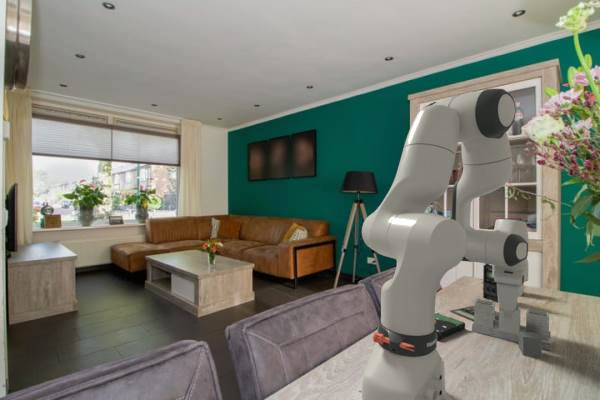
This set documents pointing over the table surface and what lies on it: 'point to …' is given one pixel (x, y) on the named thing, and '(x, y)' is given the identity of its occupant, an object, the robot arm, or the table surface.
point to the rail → (490, 326)
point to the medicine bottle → (521, 290)
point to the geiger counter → (489, 284)
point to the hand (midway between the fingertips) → (509, 318)
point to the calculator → (469, 313)
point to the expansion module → (515, 325)
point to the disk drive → (447, 326)
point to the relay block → (530, 344)
